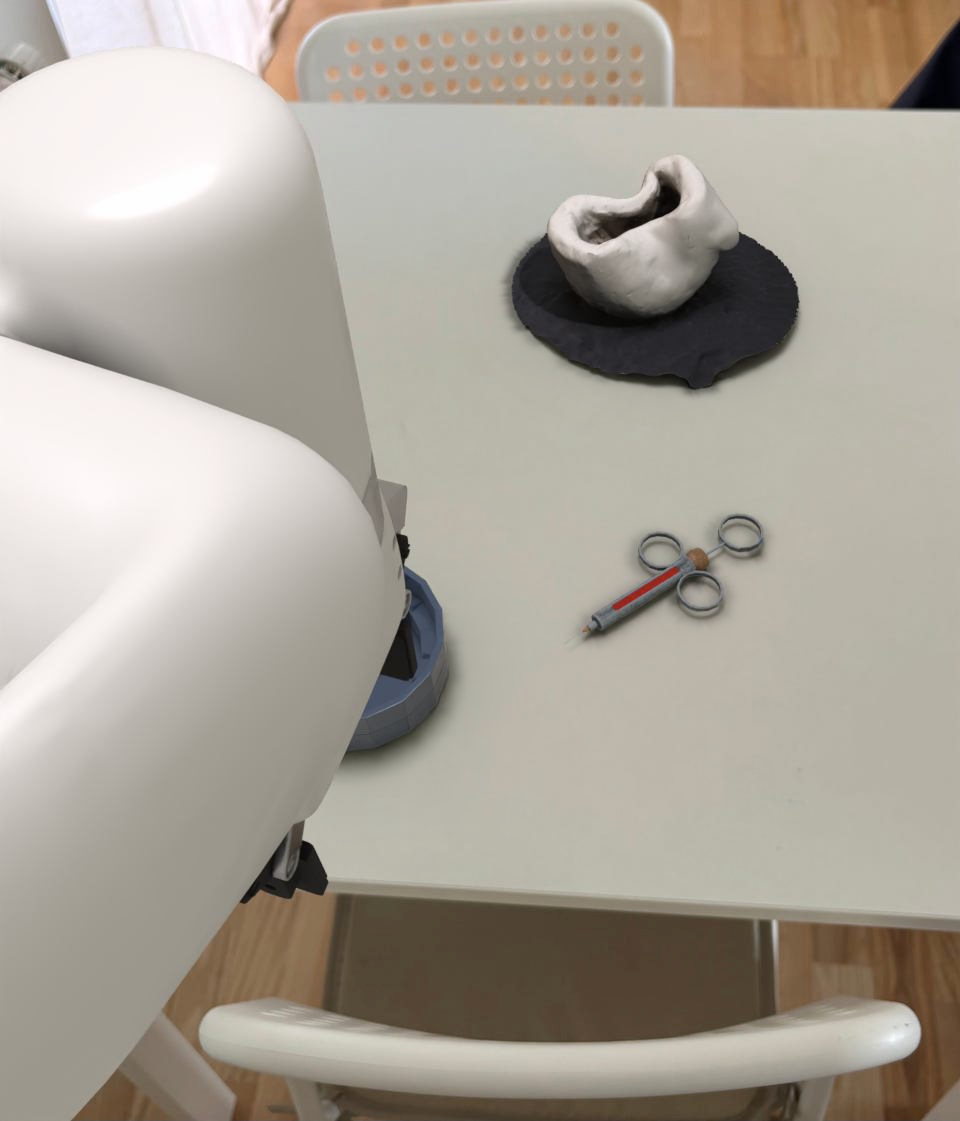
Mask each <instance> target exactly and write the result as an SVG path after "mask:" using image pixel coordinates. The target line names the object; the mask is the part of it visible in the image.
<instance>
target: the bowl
mask: <svg viewBox="0 0 960 1121" xmlns="http://www.w3.org/2000/svg"><path fill="white" fill-rule="evenodd" d="M403 572H404V580H405V589H407V590H410V591H411V603H410V607H409V610H408V612H407V615H406V616H405V618H404V619H402V620H403V621H407V622H410V626H411V632H412V637H413V643H414V648H415V654H416V659H417V665H418V668H417V670H416V673H415V675H414V678H412V679H409V681H403V680H399V679H396V678H392V677H388V676H385V675H381V674H379V676H378V678H377V681H376V683H375V685H374V688H373V690H372V692H371V695H370V697H369V699H368V702H367V704H366V706H365V709H364V711H363V713H362V715H361V718H360V720H359V722H358V725H357V727H356V729H355V731H354V734H353V736H352V738H351V740H350V743H349V745H348V747H347V750H346V752H351V751H360V750H374V749H377V748H379V747H382V746H384V745H385V744H387V743H390V742H392V741H394V740H396V739H398V738H400V737H402V736H405V735H407V734H409V733H411V732H412V731H413V730H414V729H415V728H416V727H417V726H418V725H419V724H420V723H421V722H422V721H423V720H424V719H425V718H426V717H427V715H429V714H430V713H431V712H432V711H433V709H434V708H435V707H436V705H437V703H438V701H439V698H440V696H441V694H442V691H443V688H444V687H445V683H446V681H447V679H448V676H449V661H448V660H449V659H448V658H449V657H448V643H447V636H446V629H445V621H444V620H445V619H444V612H443V607H442V606H441V604H440V603H439V600H438V599H437V597H436V596H435V594H434V592H433V591H432V588H431V587H430V585H429V583H428V582H427V580H426V579H424V578H423V577H421V575H419V574H418V573H416V572H415V571H413V570H412V569H411V568H409V567H408V566H406V565H405V564H404V570H403Z"/></svg>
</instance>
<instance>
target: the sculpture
mask: <svg viewBox="0 0 960 1121" xmlns="http://www.w3.org/2000/svg"><path fill="white" fill-rule="evenodd" d="M546 225H547V226H546V232H545V233H544V235H543V236H542V237H541V239H540V241H537V242H535V244H533V246H531V247H530V249H527V250H528V251H527V252H526V253H525V255H524V256H523V257H522V258H521V259H519V263H518V265H517V266H516V268H515V272H514V274H513V275H512V278H513V279H512V284H511V287H510V288H511V289H512V291H511V294H512V302H513V303H512V304H513V305H514V306H513V309H514V310H515V311H516V314H517V316H519V319H520V321H521V323H523V324H524V326H525V327H528V328H529V330H530V331H531V333H533V334H534V335H535V336H539V337H542V338H543V339H545V340H547V342H549V343H550V344H551V345H552V346H554V347H555V348H558V349H559V350H560V352H561V353H565V358H567V359H568V360H569V361H573V362H575V361H576V363H577V362H579V363H581V364H583V365H588V366H589V368H592V369H599V370H600V371H602V372H604V373H608V374H609V373H611V374H617V375H622V374H623V375H624V376H627V374H630V375H631V374H642V375H643V374H644V375H645V376H650V377H657V376H658V377H659V376H661V375H662V376H663V375H666V374H672V375H675V376H677V377H680V378H681V379H682V378H684V379H685V380H686V381H687V382H688V384H689V386H690V388H693V389H695V390H696V389H701V388H706V387H710V386H711V385H712V384H713V381H714V380H715V376H716V375H717V374H719V373H720V372H721V371H723V372H725V370H726V371H727V370H728V368H732V366H734V365H735V364H736V363H737V362H738V361H740V360H742V359H743V358H747V357H751V356H755V355H759V354H761V353H762V352H765V351H767V350H770V349H773V347H774V348H775V347H777V346H778V345H781V343H782V342H784V339H785V337H786V336H787V335H788V333H790V331H791V330H792V326H794V325H795V321H797V319H796V318H798V316H799V315H798V313H799V311H798V309H800V308H799V304H800V302H801V301H800V298H799V296H800V295H799V286H798V285H797V282H796V280H795V278H794V277H793V276H794V275H793V273H792V272H790V270H789V267H788V266H787V265H785V263H784V261H782V259H781V258H779V256H778V255H776V254H775V253H774V252H773V251H772V250H771V249H769V248H766V247H765V245H762V244H761V243H759V241H758V240H756V239H755V238H753V237H751V236H749V235H746V234H745V233H742V232H741V231H739V222H738V220H737V219H736V217H735V216H734V215H733V213H732V212H731V211H730V209H728V207H727V206H726V204H725V203H724V201H723V200H722V198H721V197H720V196H719V195H718V193H717V191H716V189H715V187H713V185H712V184H711V183H710V181H709V180H708V179H707V177H706V175H705V174H704V172H703V171H702V170H701V169H700V168H699V166H697V164H696V163H695V162H693V160H691V159H690V158H688V157H687V156H685V155H682V154H679V153H678V154H677V153H675V154H671V155H669V156H665V157H662V158H660V159H658V160H656V161H654V162H652V163H651V164H650V165H649V166H648V169H647V170H646V172H645V174H644V177H643V180H642V183H641V188H640V190H639V191H638V192H637V193H636V194H635V195H634V196H631V197H628V198H615V197H611V196H610V197H609V196H604V195H603V196H602V195H595V194H585V193H583V194H575V195H572V196H568V197H567V198H565V200H563V201H562V202H561V203H560V204H559V205H558V206H557V207H556V208H555V210H554V211H553V212H552V214H551V216H550V217H549V218H548V221H547V224H546Z"/></svg>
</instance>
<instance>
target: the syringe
mask: <svg viewBox="0 0 960 1121" xmlns="http://www.w3.org/2000/svg"><path fill="white" fill-rule="evenodd" d="M731 520H745V521H748V522H750V523H751V524H753V525H754V526H755V527H756V528H757V529H758V532H759V539H758V540H757V542H756V543H754V544H752V545H749V546H742V547H740V546H737V545H734V544H731V542H729V541H728V540H727V539H726V538H725V537H724V535H723V532H722V528H723V525H725V524H726V523H727V522H729V521H731ZM717 535H718V539H719V541H720V542H721V543H720V544H718V545H717V546H715V547H713V548H712V549H710V550H708V551H707V552H705V551H704V550H703V549H702V548H700V547H695V548H693V549H691V550H689V551H688V552H687V553H686V555H684V546H683V543H682V542H681V540H680V539H679V538H678V537H677V536H675V535H674V534H672V533H670V532H667V531H652V532H649V533H647V534H646V535H645V536H644V537H643V538H642V539H641V540H640V542H639V544H638V548H637V553H638V558H639V559H640V561H641V562H642V564H644V565H645V566H646V567H647V568H649V569H651V570H655V571H657V572H658V573H657V574H655V575H654V576H652V577H650V578H649V579H647V580H645V581H644V582H642V583H640V584H639V585H638V586H636V587H635V588H633V589H631V590H629V591H628V592H626V593H624V594H623V595H621V596H620V597H618V598H616V599H615V600H613V601H612V602H610V603H608V604H607V605H606V606H604V607H602V608H600V609H599V610H598V611H596V612H595V613H593V614H592V615H591V617H590V618H591V622H589V623H588V624H586V626H585V627H584V628H583V629H582V631H581V632H579V633H578V634H576V635H575V636H573V637H572V638H570V639H568V640H566V641H565V642H563V643H564V644H566V643H568V642H570V641H571V640H573V639H574V638H575V637H577V636H580V635H581V634H582V633H587V632H592V631H593V630H595V629H597V630H598V631H600V632H602V631H604V630H605V629H608V627H610V626H612V625H614V624H615V623H617V622H618V621H620V620H622V619H623V618H625V617H627V616H628V615H630V614H631V613H633V612H635V611H636V610H637V609H639V608H641V607H642V606H645V605H646V604H647V603H648V602H650V601H652V600H654V599H655V598H657V597H658V596H660V595H661V594H663V593H665V592H666V591H668V590H669V589H671V588H672V587H674V586H676V589H675V590H676V597H677V599H678V600H679V602H680V603H681V605H683V606H684V607H685V608H686V609H688V610H690V611H694V612H696V613H701V612H709V611H712V610H714V609H716V608H718V607H719V605H720V604H721V602H722V601H723V597H724V587H723V584H722V582H721V581H720V579H719V578H718V577H717V576H716V575H714V574H713V573H710V572H708V571H707V570H706V571H705V569H707V568H708V567H709V565H710V560H709V557H708V556H709V555H710V554H712V553H714V552H715V551H717V550H719V549H720V548H721V547H723V546H724V547H726V548H727V549H728V550H730V551H733V552H736V553H749V552H751V551H754V550H757V549H758V548H759V547H760V546H761V544H762V542H763V540H764V528H763V525H762V524H761V523H760V522H759V520H758V519H756V518H755V517H753V516H751V515H749V514H747V513H733V514H729V515H727V516H725V518H723V519H722V520H721V521H720V524H719V526H718V528H717ZM657 537H658V538H666V539H669V540H672V541H673V543H676V545H677V547H678V548H679V551H680V553H679V557H678V558H677V560H676V561H675V562H672V563H670V564H668V565H658V564H654V563H652V562H650V560H648V559H647V558H646V557H645V556H644V554H643V552H642V547H643V545H644V544H645V543H646V542H647V541H648V540H649V539H652V538H657ZM691 577H705V578H707V579H710V580H711V581H713V582H714V583H715V584H716V586H717V587H718V590H719V597H718V599H717V600H716V602H714V603H712V604H709V605H707V606H698V605H694V604H691V603H690V602H689V601H688V600H686V599H685V598H684V596H683V595H682V593H681V589H680V588H681V585H682V583H683V582H684V581H685V580H686V579H688V578H691Z"/></svg>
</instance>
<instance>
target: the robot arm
mask: <svg viewBox="0 0 960 1121" xmlns="http://www.w3.org/2000/svg"><path fill="white" fill-rule="evenodd" d="M291 108H292V107H290V105H289V104H288V103H287V101H286V100H285V99H284V97H283V96H282V95H280V93H279V92H277V91H276V90H275V89H274V88H273V87H272V86H271V85H269V84H268V82H266V81H265V80H263V78H261V76H259V75H257V74H256V73H253V71H251V70H249V69H247V68H245V67H244V66H242V65H240V64H238V63H235V62H232V61H229V60H228V59H224V58H222V57H219V56H217V55H213V54H210V53H207V52H206V53H205V52H202V51H197V50H193V49H190V48H189V49H188V48H182V47H173V46H164V45H162V46H161V45H160V46H159V45H158V46H157V45H154V46H153V45H149V46H148V45H147V46H146V45H145V46H142V45H141V46H140V45H139V46H138V45H137V46H129V47H128V46H127V47H119V48H109V49H103V50H99V51H94V52H89V53H85V54H80V55H77V56H74V57H71V58H68V59H67V58H66V59H64V60H61V61H58V62H55V63H52V64H51V65H48V66H45V67H43V68H41V69H39V70H36V71H34V72H32V73H30V74H27V75H26V76H24V77H22V78H21V79H18V80H17V81H15V82H13V83H12V84H10V85H8V86H7V87H6V88H4V89H3V90H1V91H0V1121H72V1120H73V1119H74V1118H75V1117H76V1116H77V1115H78V1114H79V1112H80V1111H82V1109H83V1108H85V1106H86V1105H87V1104H88V1103H89V1102H90V1100H91V1099H92V1098H93V1097H94V1096H95V1095H96V1094H97V1093H98V1092H99V1090H100V1089H101V1088H102V1087H104V1085H105V1084H106V1083H107V1081H108V1080H109V1079H110V1078H111V1077H112V1076H113V1074H114V1073H115V1072H116V1071H117V1069H118V1068H119V1067H120V1066H121V1065H122V1063H123V1062H124V1061H125V1059H127V1057H128V1056H129V1055H130V1053H131V1052H132V1051H133V1050H134V1048H135V1047H136V1046H137V1044H138V1043H139V1042H140V1041H141V1039H142V1038H143V1037H144V1035H145V1034H146V1033H147V1031H148V1030H149V1028H150V1027H151V1026H152V1024H153V1023H154V1022H155V1020H156V1019H157V1018H158V1016H159V1015H160V1014H161V1012H162V1010H163V1009H164V1007H165V1006H166V1005H167V1003H168V1001H169V1000H170V998H171V997H172V996H173V994H174V993H175V992H176V991H177V989H178V987H179V986H180V985H181V983H182V982H183V981H184V979H185V978H186V976H187V975H188V973H190V971H191V970H192V968H193V967H194V965H195V964H196V963H197V961H198V960H199V958H200V957H201V956H202V955H203V953H204V952H205V951H206V949H207V947H208V946H209V945H210V943H211V942H212V940H213V939H214V938H215V937H216V935H217V933H219V931H220V929H221V928H222V927H223V925H224V924H225V922H226V921H227V920H228V918H229V917H230V915H231V914H232V913H233V912H234V910H235V909H236V907H237V906H238V904H242V905H246V904H247V903H249V901H251V900H252V899H253V898H255V896H256V895H257V894H258V893H259V892H260V891H262V892H264V893H267V894H269V895H272V896H275V897H278V898H282V899H285V900H291V899H293V897H294V895H295V892H296V890H301V891H304V892H307V893H310V894H313V895H316V896H320V897H321V896H324V894H325V892H326V890H327V887H328V885H329V880H328V873H327V871H326V870H325V866H324V865H323V863H322V861H321V859H320V857H319V854H318V852H317V850H316V848H315V846H314V845H313V844H312V843H311V842H309V841H307V840H304V839H303V838H304V831H305V826H306V825H305V824H306V820H307V819H308V818H310V817H312V816H313V815H314V814H315V813H316V811H317V810H318V809H319V807H320V806H321V804H322V802H323V800H324V799H325V797H326V795H327V793H328V791H329V789H330V787H331V785H332V783H333V781H334V778H335V776H336V774H337V773H338V772H337V771H338V769H339V767H340V766H341V763H342V761H343V758H344V756H345V754H346V752H347V751H346V750H347V747H348V745H349V743H350V740H351V738H352V736H353V734H354V731H355V729H356V727H357V725H358V722H359V720H360V718H361V715H362V713H363V711H364V709H365V706H366V704H367V702H368V699H369V697H370V695H371V692H372V690H373V688H374V685H375V683H376V681H377V678H378V676H379V674H381V675H385V676H388V677H392V678H396V679H399V680H403V681H409V679H412V678H414V675H415V673H416V670H417V668H418V665H417V659H416V654H415V648H414V643H413V637H412V632H411V626H410V622H407V621H403V620H402V619H404V618H405V616H406V615H407V612H408V610H409V607H410V603H411V591H410V590H407V589H405V580H404V572H403V570H404V565H405V563H406V559H408V558H409V555H410V553H411V548H410V546H411V543H409V537H408V535H406V534H403V533H402V530H403V529H404V527H405V526H406V514H407V503H408V487H407V485H404V484H401V483H396V482H393V481H388V480H384V479H379V478H378V474H377V468H376V463H375V459H374V453H373V448H372V444H371V443H372V442H371V439H370V433H369V428H368V421H367V417H366V411H365V406H364V401H363V400H364V399H363V396H362V391H361V390H362V389H361V384H360V380H359V376H358V375H359V374H358V369H357V364H356V359H355V353H354V347H353V343H352V336H351V332H350V326H349V322H348V316H347V311H346V305H345V301H344V295H343V290H342V286H341V284H342V283H341V278H340V275H339V268H338V263H337V258H336V253H335V248H334V243H333V237H332V230H331V227H330V221H329V216H328V211H327V205H326V200H325V195H324V190H323V185H322V182H321V181H322V180H321V177H320V172H319V169H318V165H317V161H316V158H315V153H314V150H313V147H312V145H311V141H310V139H309V136H308V135H307V133H306V130H305V128H304V126H303V125H302V122H300V120H299V118H298V117H297V116H296V114H295V112H294V111H293V109H291Z"/></svg>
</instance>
